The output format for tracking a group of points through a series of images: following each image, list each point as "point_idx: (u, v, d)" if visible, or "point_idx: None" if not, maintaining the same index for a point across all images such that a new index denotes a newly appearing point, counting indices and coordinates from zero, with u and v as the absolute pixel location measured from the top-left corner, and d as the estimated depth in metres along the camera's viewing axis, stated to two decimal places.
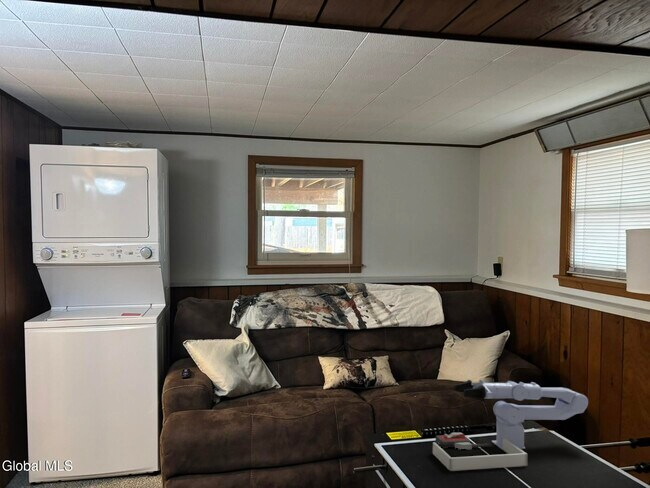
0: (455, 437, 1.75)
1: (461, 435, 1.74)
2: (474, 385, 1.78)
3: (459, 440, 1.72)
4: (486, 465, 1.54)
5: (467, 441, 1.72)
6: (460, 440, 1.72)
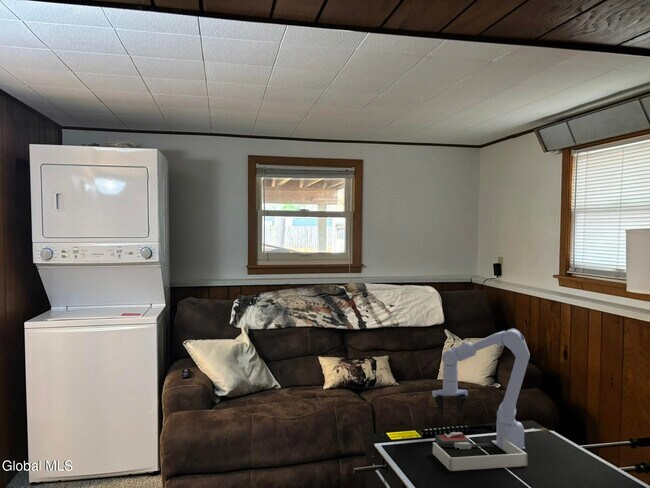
0: (455, 436, 1.75)
1: (461, 435, 1.74)
2: None
3: (458, 440, 1.72)
4: (486, 465, 1.54)
5: (466, 441, 1.72)
6: (459, 440, 1.72)
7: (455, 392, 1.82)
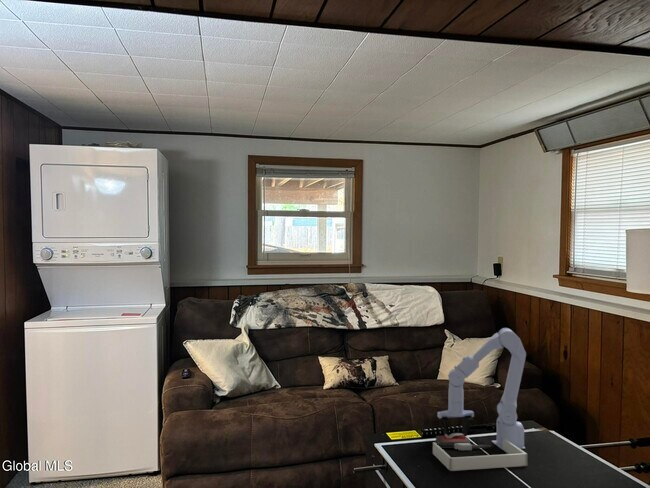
0: (456, 437, 1.74)
1: (461, 436, 1.73)
2: None
3: (459, 441, 1.71)
4: (486, 465, 1.54)
5: (467, 442, 1.71)
6: (460, 441, 1.71)
7: (461, 414, 1.77)
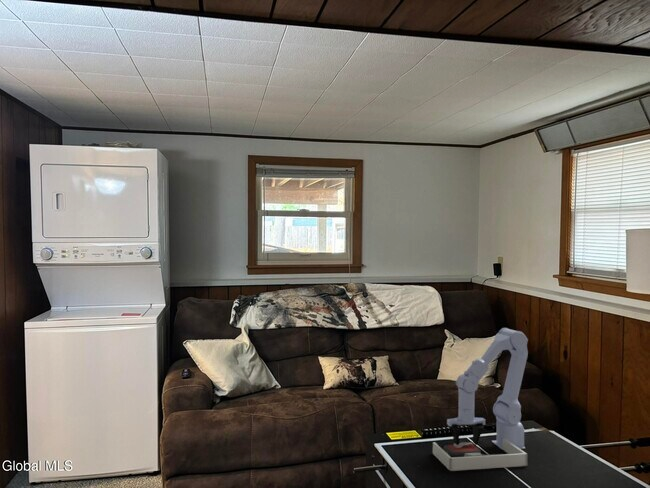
0: (465, 446, 1.66)
1: (471, 445, 1.65)
2: None
3: (469, 450, 1.63)
4: (486, 465, 1.54)
5: (477, 451, 1.63)
6: (470, 451, 1.63)
7: (472, 421, 1.68)
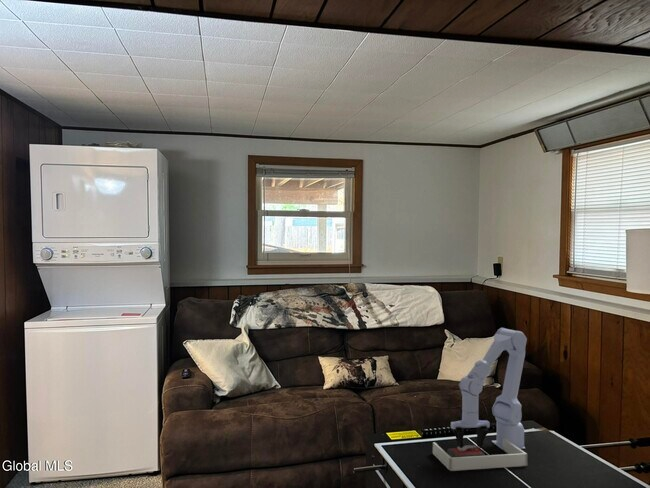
0: (469, 450, 1.63)
1: (475, 448, 1.62)
2: None
3: (473, 454, 1.60)
4: (486, 465, 1.54)
5: (482, 455, 1.60)
6: (474, 454, 1.60)
7: (476, 424, 1.65)
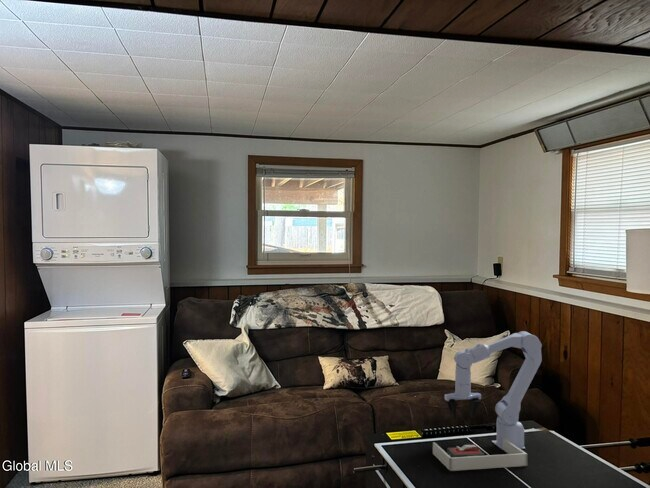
0: (468, 449, 1.63)
1: (474, 448, 1.62)
2: None
3: (472, 453, 1.60)
4: (486, 465, 1.54)
5: (481, 454, 1.60)
6: (473, 454, 1.60)
7: (468, 396, 1.74)
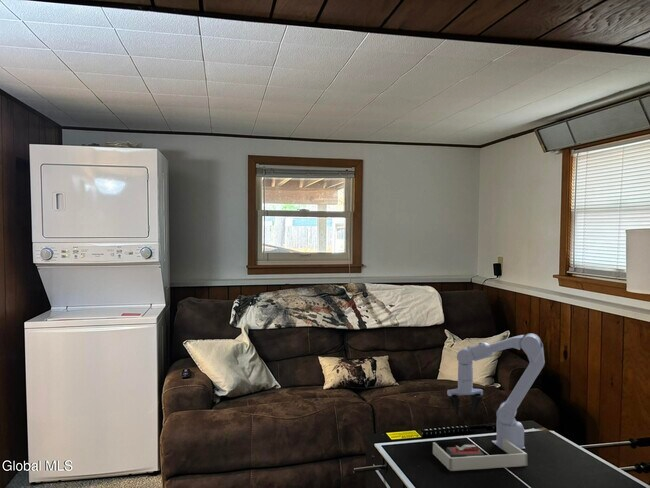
0: (468, 449, 1.63)
1: (474, 448, 1.62)
2: None
3: (471, 453, 1.60)
4: (486, 465, 1.54)
5: (480, 454, 1.60)
6: (472, 453, 1.60)
7: (470, 391, 1.80)
